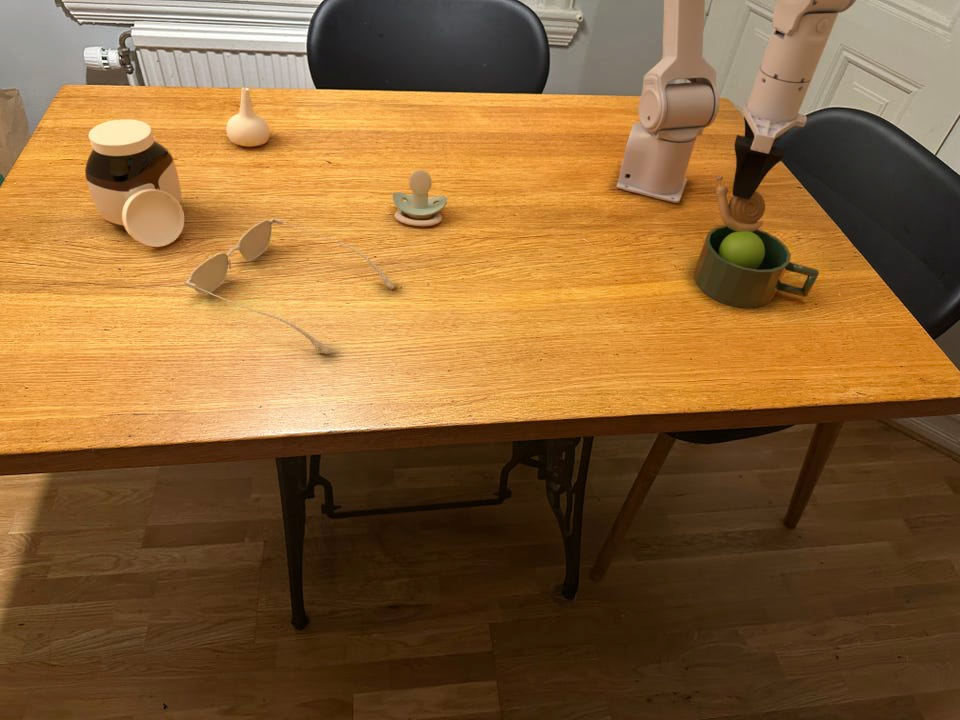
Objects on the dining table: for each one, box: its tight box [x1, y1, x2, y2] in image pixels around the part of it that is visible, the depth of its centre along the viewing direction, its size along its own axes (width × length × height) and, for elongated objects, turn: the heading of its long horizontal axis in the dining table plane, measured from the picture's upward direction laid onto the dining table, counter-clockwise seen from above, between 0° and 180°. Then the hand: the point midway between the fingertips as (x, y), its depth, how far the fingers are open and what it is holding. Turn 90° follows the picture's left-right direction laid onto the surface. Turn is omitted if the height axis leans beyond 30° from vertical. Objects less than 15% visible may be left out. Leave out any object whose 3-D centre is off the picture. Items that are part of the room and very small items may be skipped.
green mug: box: [693, 224, 820, 309], centre depth 86 cm, size 14×10×6 cm
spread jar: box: [84, 119, 185, 248], centre depth 85 cm, size 12×11×12 cm
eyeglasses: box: [184, 217, 395, 355], centre depth 79 cm, size 15×18×4 cm
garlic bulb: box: [225, 87, 271, 148], centre depth 104 cm, size 6×6×8 cm
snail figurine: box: [715, 175, 766, 269], centre depth 86 cm, size 5×6×12 cm
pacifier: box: [392, 169, 448, 227], centre depth 93 cm, size 7×6×6 cm
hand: (744, 182), depth 87 cm, fingers open, 7 cm apart
